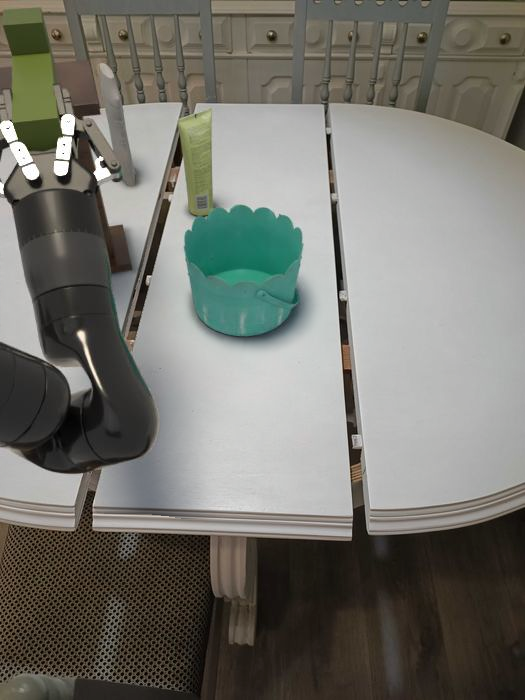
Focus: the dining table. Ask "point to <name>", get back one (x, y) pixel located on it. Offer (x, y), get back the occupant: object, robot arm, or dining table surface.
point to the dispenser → (117, 123)
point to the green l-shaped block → (32, 79)
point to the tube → (198, 160)
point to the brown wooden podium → (86, 145)
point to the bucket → (243, 269)
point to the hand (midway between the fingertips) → (33, 91)
